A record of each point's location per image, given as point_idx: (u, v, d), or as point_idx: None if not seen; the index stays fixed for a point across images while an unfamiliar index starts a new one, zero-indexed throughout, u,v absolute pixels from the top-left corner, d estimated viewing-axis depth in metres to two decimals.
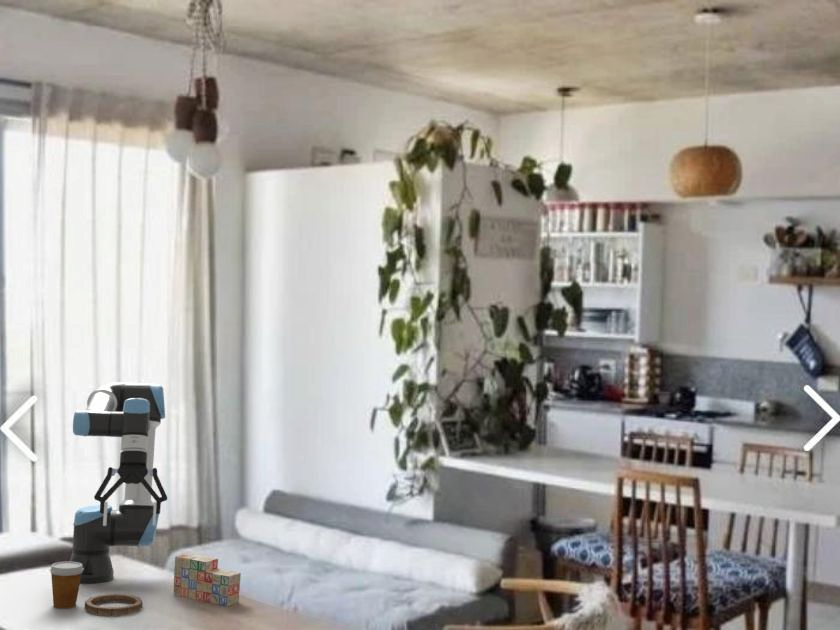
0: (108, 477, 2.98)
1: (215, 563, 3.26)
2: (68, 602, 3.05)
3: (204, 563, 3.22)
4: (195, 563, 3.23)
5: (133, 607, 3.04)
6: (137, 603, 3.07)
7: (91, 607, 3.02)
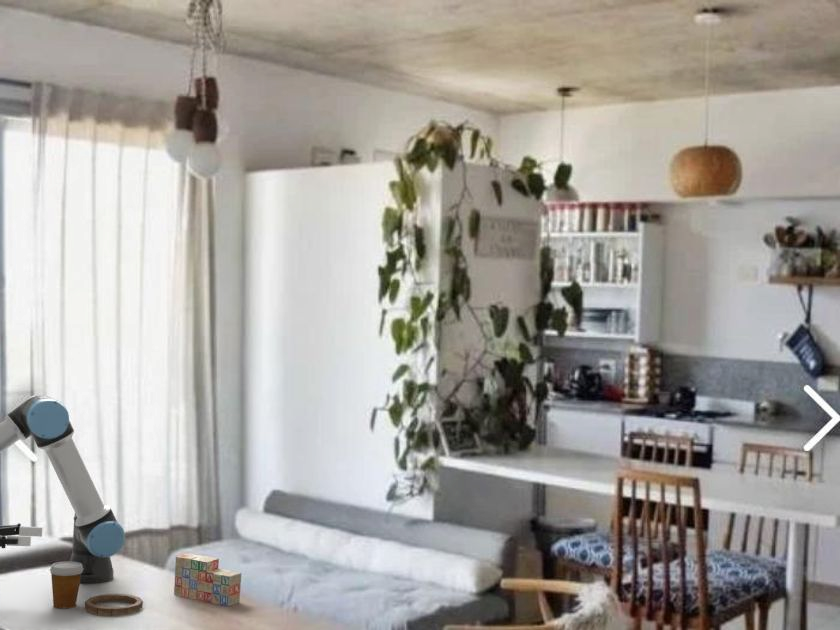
0: None
1: (216, 563, 3.26)
2: (68, 602, 3.05)
3: (205, 563, 3.21)
4: (196, 564, 3.23)
5: (133, 607, 3.04)
6: (137, 603, 3.07)
7: (91, 607, 3.02)
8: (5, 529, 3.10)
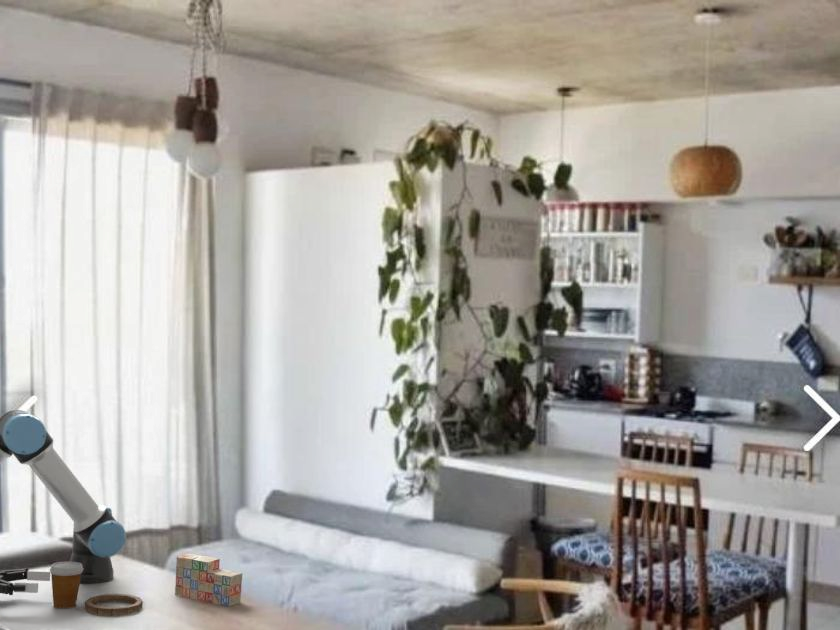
0: None
1: (217, 563, 3.26)
2: (68, 602, 3.05)
3: (206, 563, 3.21)
4: (197, 564, 3.23)
5: (133, 607, 3.04)
6: (137, 603, 3.07)
7: (91, 607, 3.02)
8: (13, 574, 3.11)
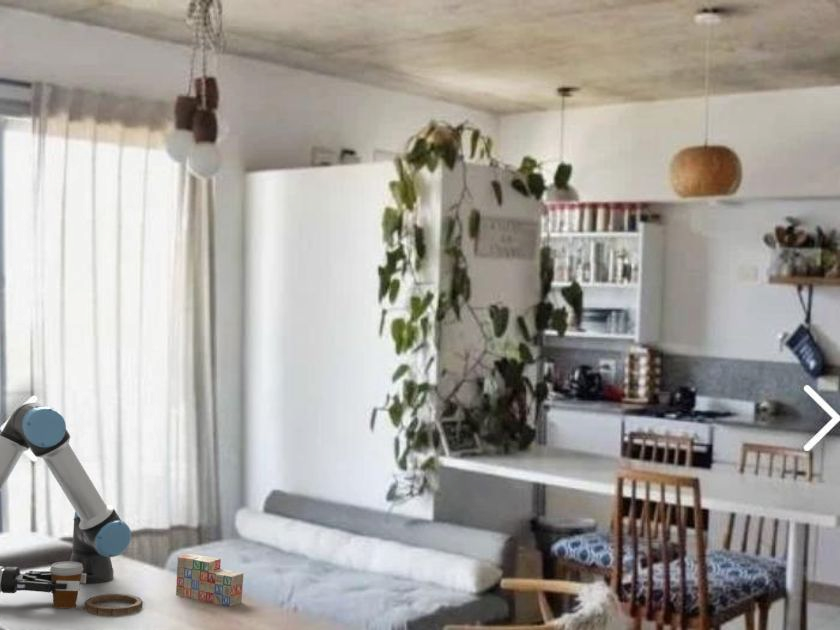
0: None
1: (218, 563, 3.26)
2: (68, 602, 3.05)
3: (207, 563, 3.21)
4: (198, 564, 3.23)
5: (133, 607, 3.04)
6: (137, 603, 3.07)
7: (91, 607, 3.02)
8: (47, 575, 3.10)
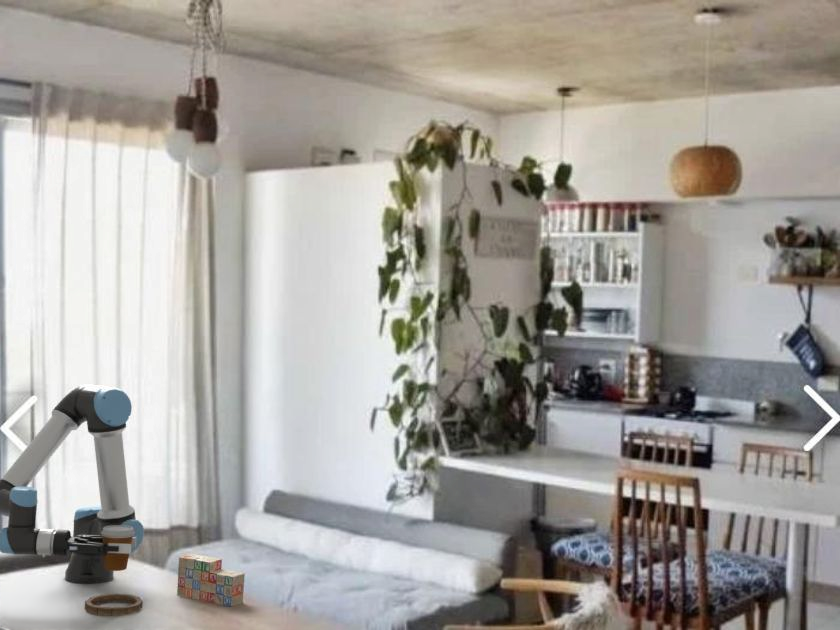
0: None
1: (219, 563, 3.25)
2: (119, 564, 3.06)
3: (208, 563, 3.21)
4: (199, 564, 3.23)
5: (133, 607, 3.04)
6: (137, 603, 3.07)
7: (91, 607, 3.02)
8: (98, 539, 3.11)
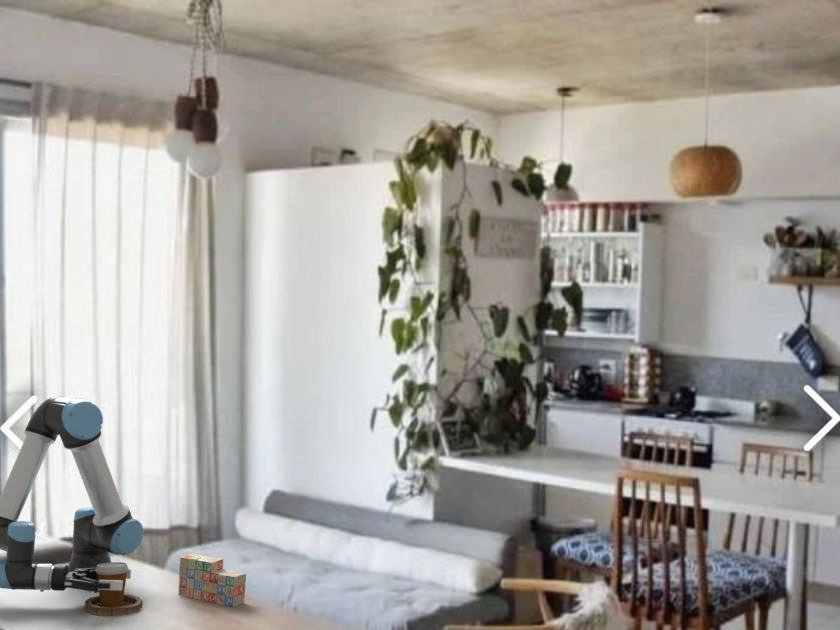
0: None
1: (220, 564, 3.25)
2: (115, 601, 3.07)
3: (209, 564, 3.21)
4: (201, 564, 3.23)
5: (133, 607, 3.04)
6: (137, 603, 3.07)
7: (91, 607, 3.02)
8: (95, 572, 3.12)
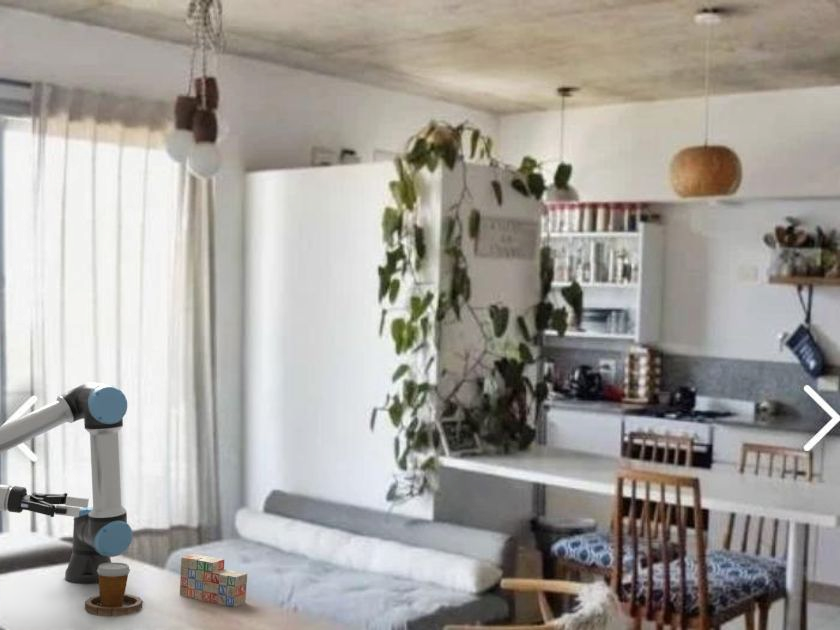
0: None
1: (221, 564, 3.25)
2: (116, 602, 3.08)
3: (211, 564, 3.21)
4: (202, 564, 3.22)
5: (133, 607, 3.04)
6: (137, 603, 3.07)
7: (91, 607, 3.02)
8: (52, 498, 3.12)
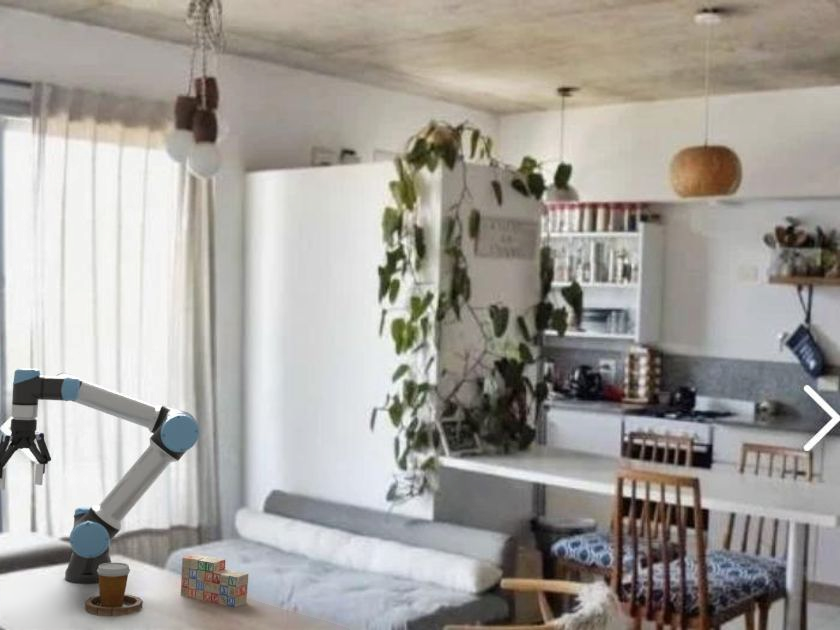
0: None
1: (222, 564, 3.25)
2: (116, 602, 3.08)
3: (212, 564, 3.21)
4: (203, 564, 3.22)
5: (133, 607, 3.04)
6: (137, 603, 3.07)
7: (91, 607, 3.02)
8: (35, 453, 3.26)
